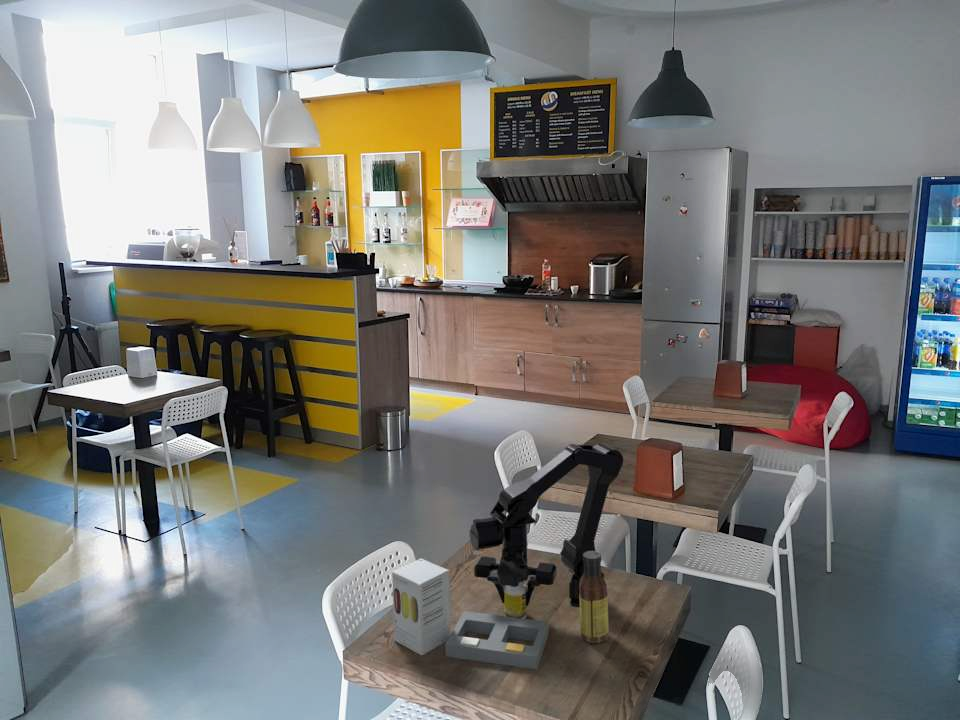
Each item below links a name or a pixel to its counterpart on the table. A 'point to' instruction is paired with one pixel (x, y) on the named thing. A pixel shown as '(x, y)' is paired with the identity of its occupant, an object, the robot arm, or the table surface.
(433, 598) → the supplement box
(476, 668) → the table surface
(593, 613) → the sauce bottle
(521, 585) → the supplement bottle
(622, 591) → the table surface
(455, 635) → the socket board
